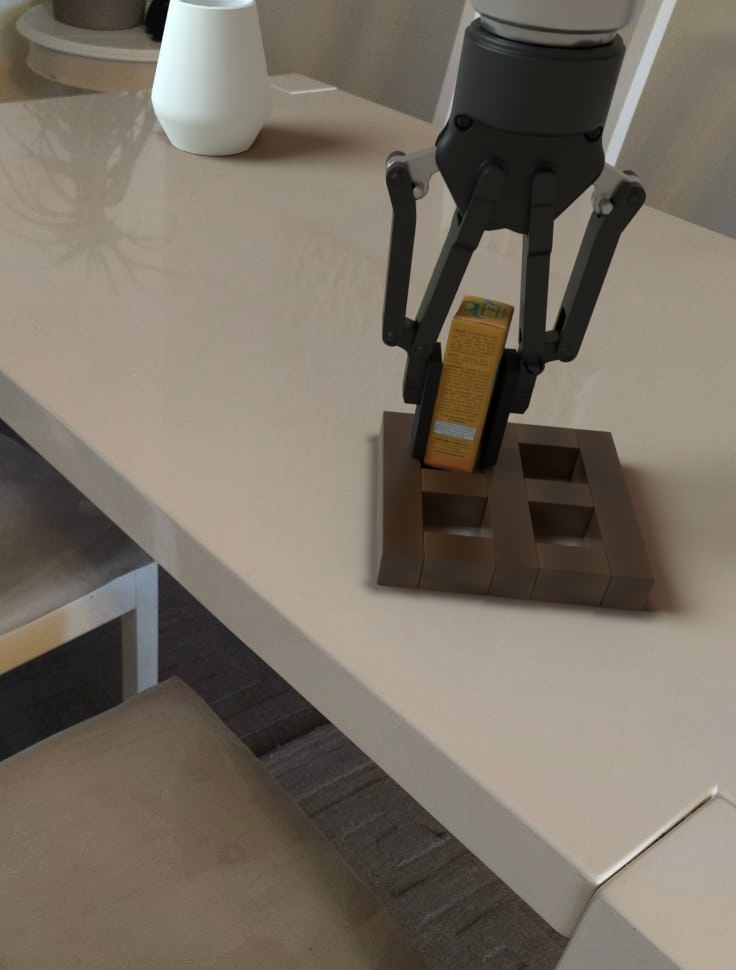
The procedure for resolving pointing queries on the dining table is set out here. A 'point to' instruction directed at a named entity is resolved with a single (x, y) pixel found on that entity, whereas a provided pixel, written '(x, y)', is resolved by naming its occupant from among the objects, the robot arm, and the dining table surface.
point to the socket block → (513, 520)
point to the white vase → (212, 77)
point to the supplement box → (467, 383)
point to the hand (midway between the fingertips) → (452, 449)
